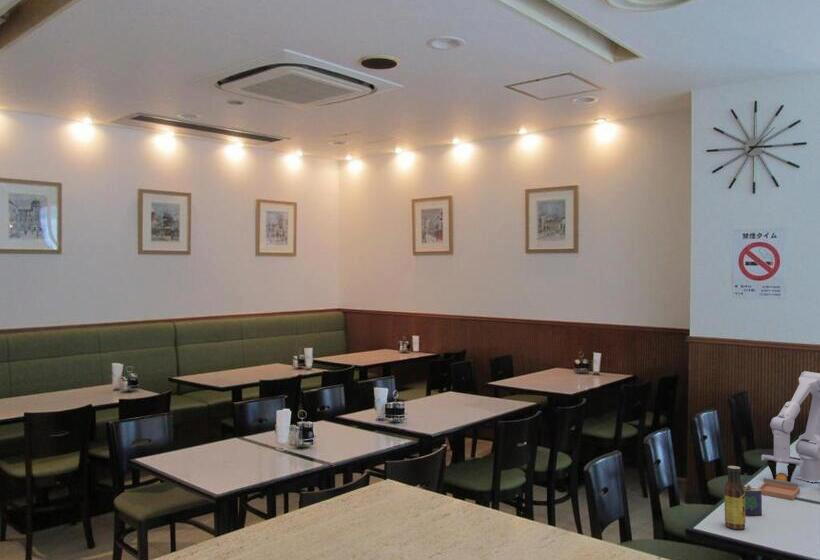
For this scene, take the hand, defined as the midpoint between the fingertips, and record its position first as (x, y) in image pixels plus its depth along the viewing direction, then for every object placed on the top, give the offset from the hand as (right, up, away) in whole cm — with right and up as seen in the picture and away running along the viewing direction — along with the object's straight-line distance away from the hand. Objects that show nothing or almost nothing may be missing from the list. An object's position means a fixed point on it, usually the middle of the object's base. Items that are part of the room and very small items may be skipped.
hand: (781, 480), depth 268 cm
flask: (-31, -2, -34) cm, 46 cm away
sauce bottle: (-41, -2, -45) cm, 61 cm away
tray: (-7, -2, -11) cm, 13 cm away
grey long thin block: (-3, -1, -5) cm, 6 cm away
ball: (0, +1, 0) cm, 1 cm away
